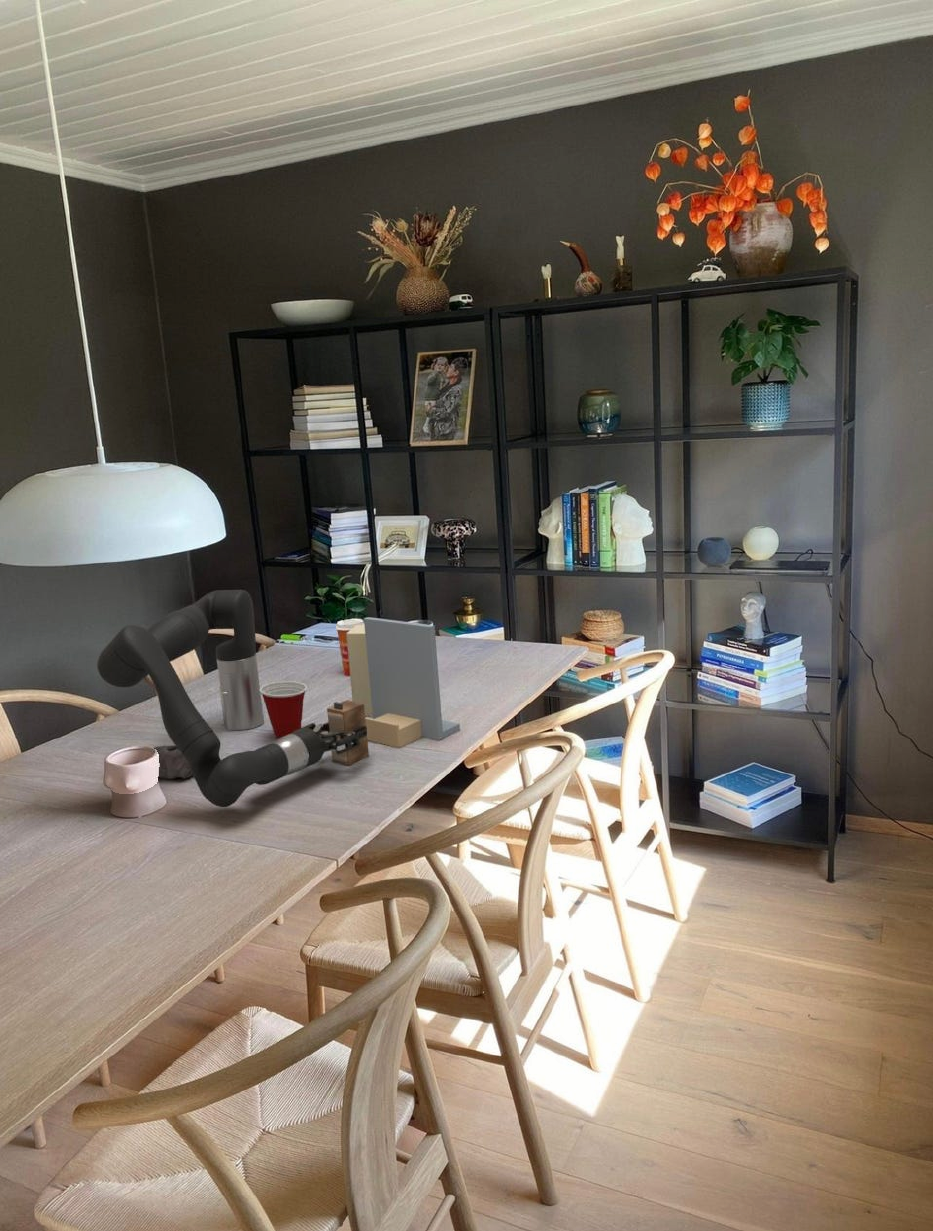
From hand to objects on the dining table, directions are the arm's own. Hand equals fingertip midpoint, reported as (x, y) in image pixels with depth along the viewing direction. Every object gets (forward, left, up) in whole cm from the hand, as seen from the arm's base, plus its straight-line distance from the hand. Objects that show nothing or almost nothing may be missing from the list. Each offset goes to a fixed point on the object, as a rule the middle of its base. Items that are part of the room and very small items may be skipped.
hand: (351, 727), depth 200 cm
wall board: (+15, +9, -7) cm, 19 cm away
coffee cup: (+17, +63, -7) cm, 65 cm away
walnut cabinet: (-1, 0, -7) cm, 7 cm away
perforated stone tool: (-38, +11, -7) cm, 40 cm away
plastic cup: (-10, +22, -7) cm, 25 cm away
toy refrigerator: (+12, +28, -7) cm, 31 cm away
